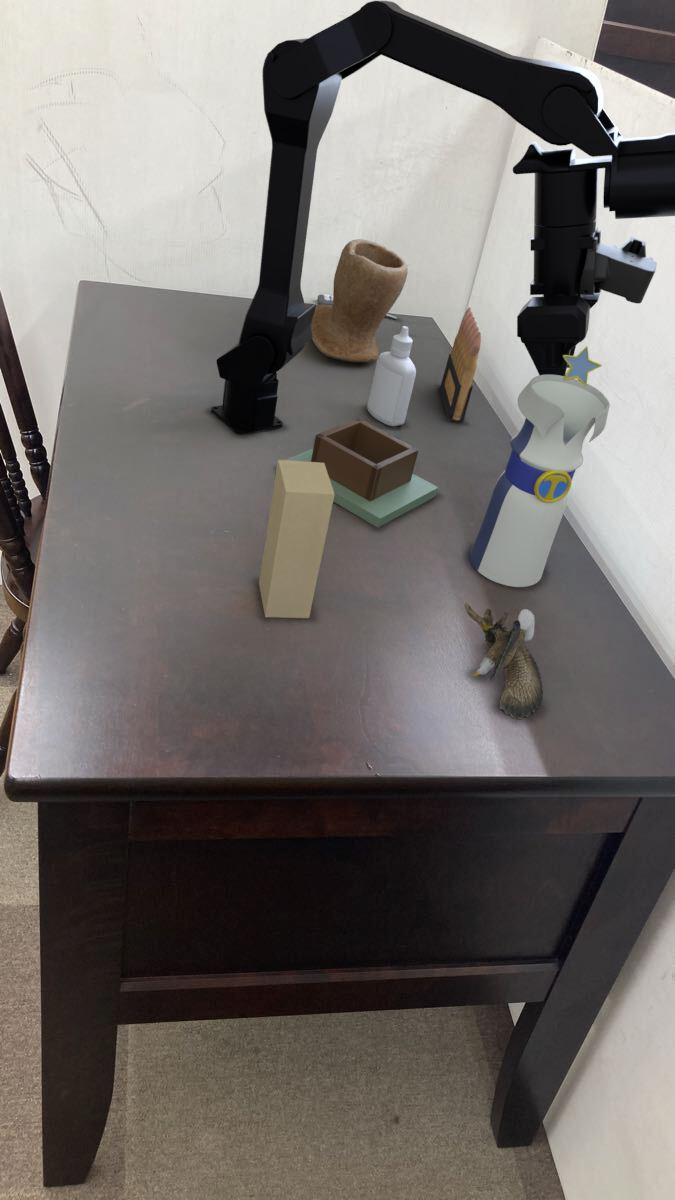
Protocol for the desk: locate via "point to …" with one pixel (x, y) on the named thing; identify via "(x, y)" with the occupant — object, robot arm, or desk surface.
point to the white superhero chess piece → (539, 474)
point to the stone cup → (358, 301)
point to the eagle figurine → (511, 661)
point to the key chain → (328, 300)
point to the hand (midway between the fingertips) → (560, 381)
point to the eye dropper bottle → (393, 382)
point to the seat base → (369, 471)
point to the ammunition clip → (461, 368)
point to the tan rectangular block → (295, 538)
